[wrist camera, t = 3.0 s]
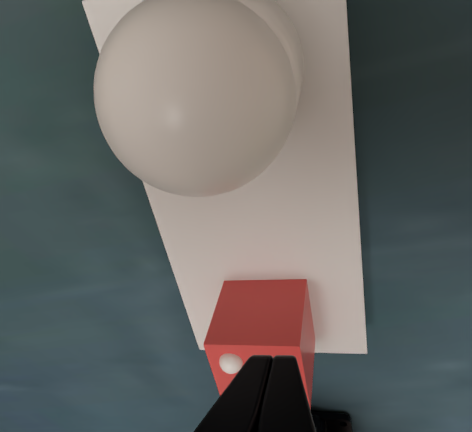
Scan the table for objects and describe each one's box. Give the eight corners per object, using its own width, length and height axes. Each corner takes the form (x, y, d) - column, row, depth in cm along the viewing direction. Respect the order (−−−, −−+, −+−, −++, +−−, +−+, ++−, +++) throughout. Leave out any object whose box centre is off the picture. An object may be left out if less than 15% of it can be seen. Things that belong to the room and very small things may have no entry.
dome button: (315, 119, 19) (299, 231, 12) (179, 134, 20) (100, 240, 14) (297, -48, 15) (263, -18, 9) (138, -14, 17) (11, 32, 11)
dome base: (365, 324, 24) (371, 438, 19) (208, 323, 27) (175, 423, 22) (342, -57, 15) (342, -41, 10) (105, -7, 18) (3, 27, 12)
